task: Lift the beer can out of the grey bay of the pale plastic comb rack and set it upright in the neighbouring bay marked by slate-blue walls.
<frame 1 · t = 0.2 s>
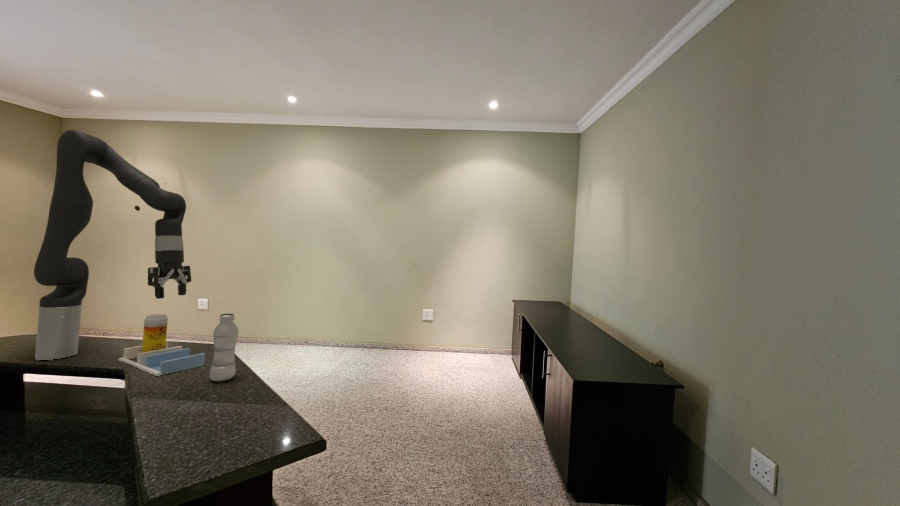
hand: (171, 296, 113), 22 cm above the countertop, tool pointing down, fingers open, 8 cm apart
plastic bottle: (222, 380, 101), on the countertop
beer can: (153, 359, 115), resting in comb rack
comb rack: (163, 362, 112), on the countertop
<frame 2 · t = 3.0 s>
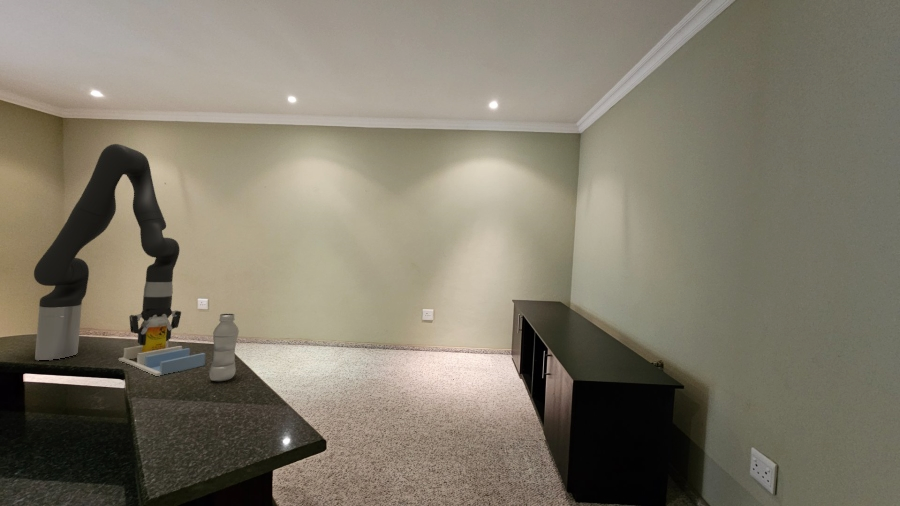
hand: (154, 342, 115), 6 cm above the countertop, tool pointing down, fingers closed on beer can, 6 cm apart
beer can: (153, 359, 115), resting in comb rack, touching gripper
everything else where it was.
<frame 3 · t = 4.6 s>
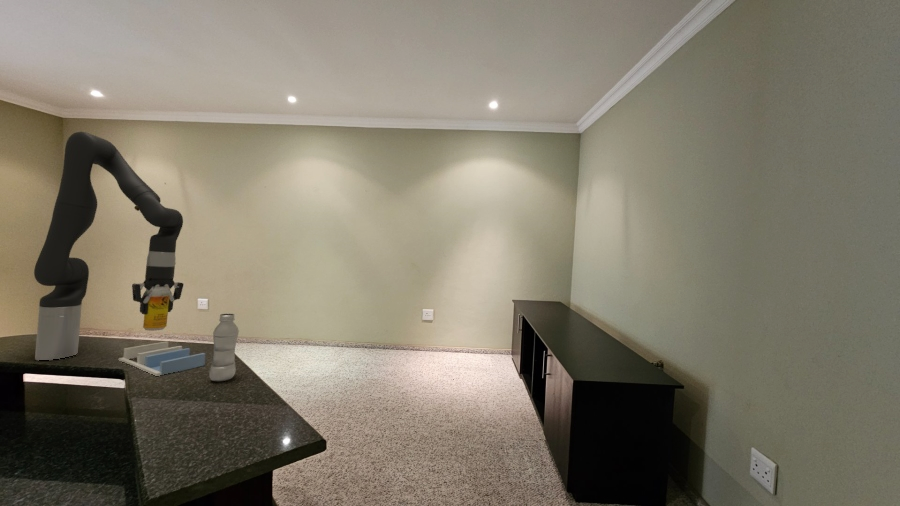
hand: (156, 312, 115), 16 cm above the countertop, tool pointing down, fingers closed on beer can, 6 cm apart
beer can: (154, 329, 115), point 10 cm above the countertop, touching gripper
everything else where it was.
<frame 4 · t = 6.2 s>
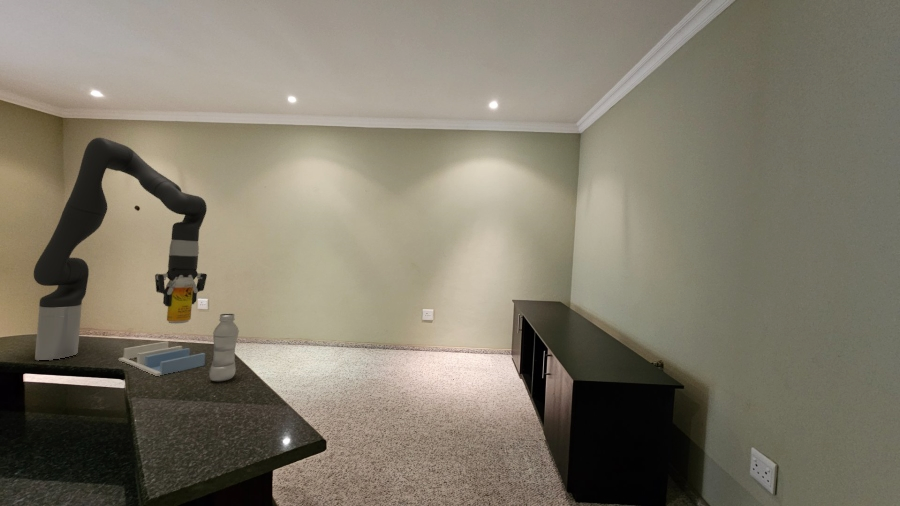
hand: (179, 304, 109), 20 cm above the countertop, tool pointing down, fingers closed on beer can, 6 cm apart
beer can: (178, 322, 109), point 15 cm above the countertop, touching gripper
everything else where it was.
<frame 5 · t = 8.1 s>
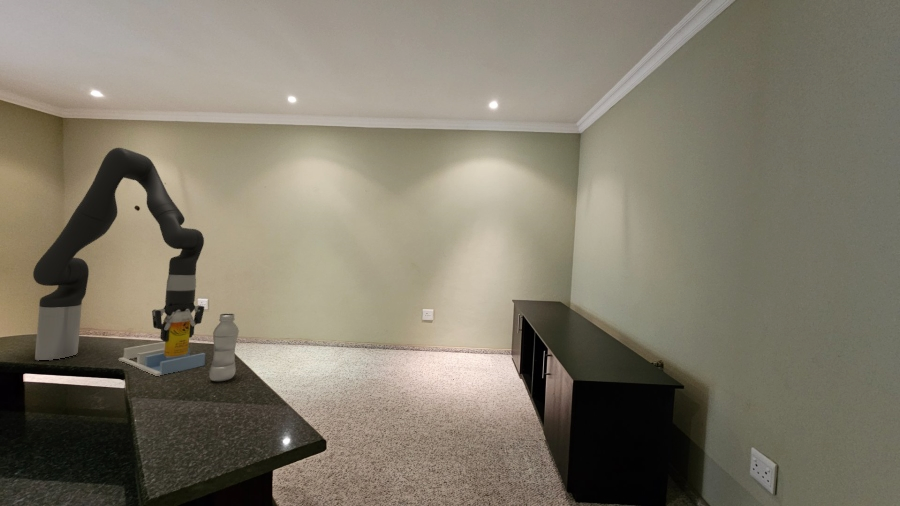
hand: (177, 339, 109), 9 cm above the countertop, tool pointing down, fingers closed on beer can, 6 cm apart
beer can: (176, 356, 109), point 3 cm above the countertop, touching gripper
everything else where it was.
when the fingers open (7 cm above the countertop, at t = 9.6 s): beer can drops 1 cm, resting on comb rack.
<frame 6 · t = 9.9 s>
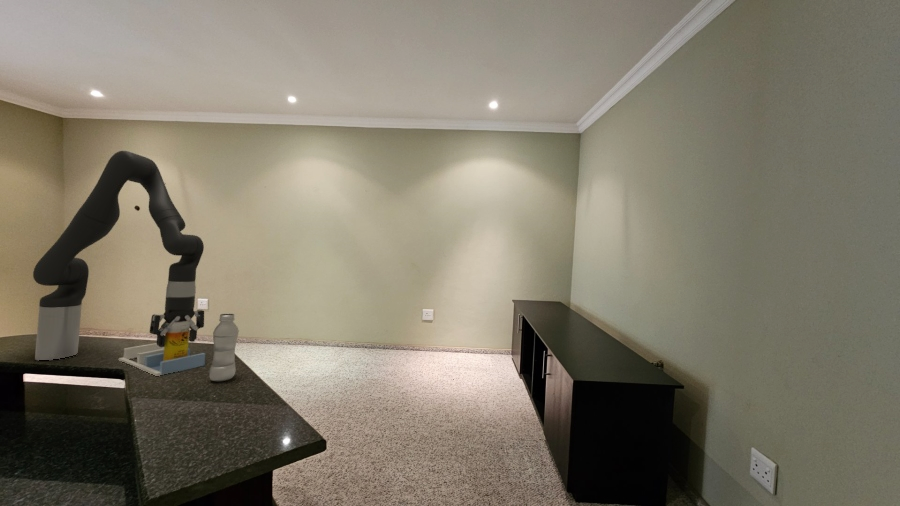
hand: (176, 343, 109), 8 cm above the countertop, tool pointing down, fingers open, 8 cm apart
beer can: (174, 366, 109), resting on comb rack
everything else where it was.
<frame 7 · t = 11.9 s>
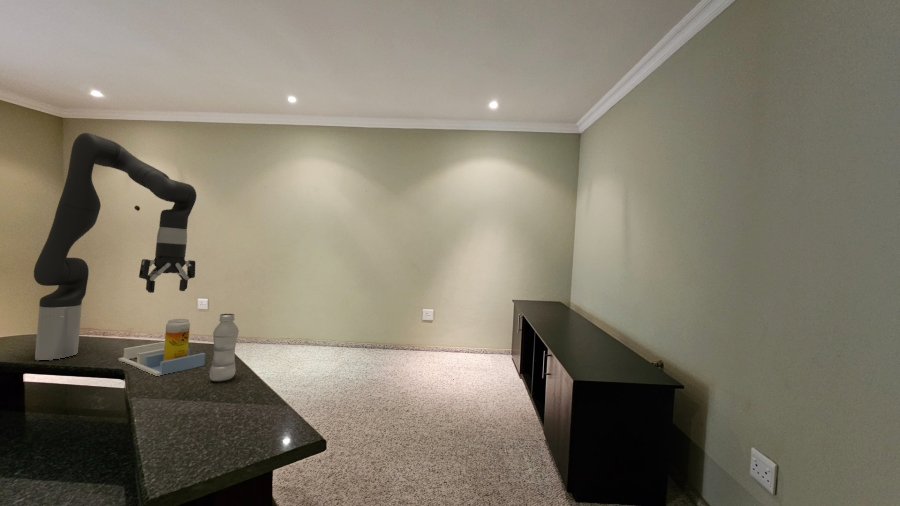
hand: (166, 291, 108), 25 cm above the countertop, tool pointing down, fingers open, 8 cm apart
nothing on the countertop moved.
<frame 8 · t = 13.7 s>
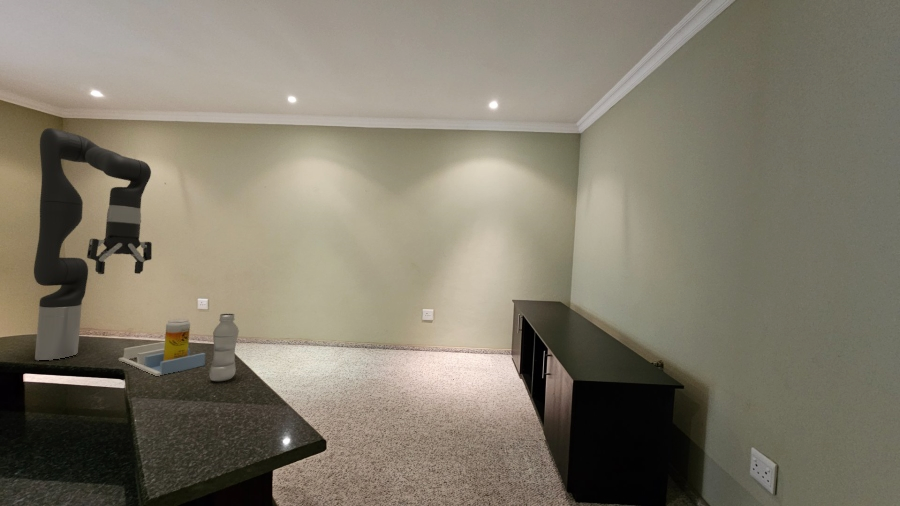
hand: (119, 273, 103), 30 cm above the countertop, tool pointing down, fingers open, 8 cm apart
nothing on the countertop moved.
at the end: beer can 0.1 cm from the target spot on the comb rack, point 0.1 cm above the comb rack's base; beer can tilted 0°; the gripper is holding nothing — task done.
